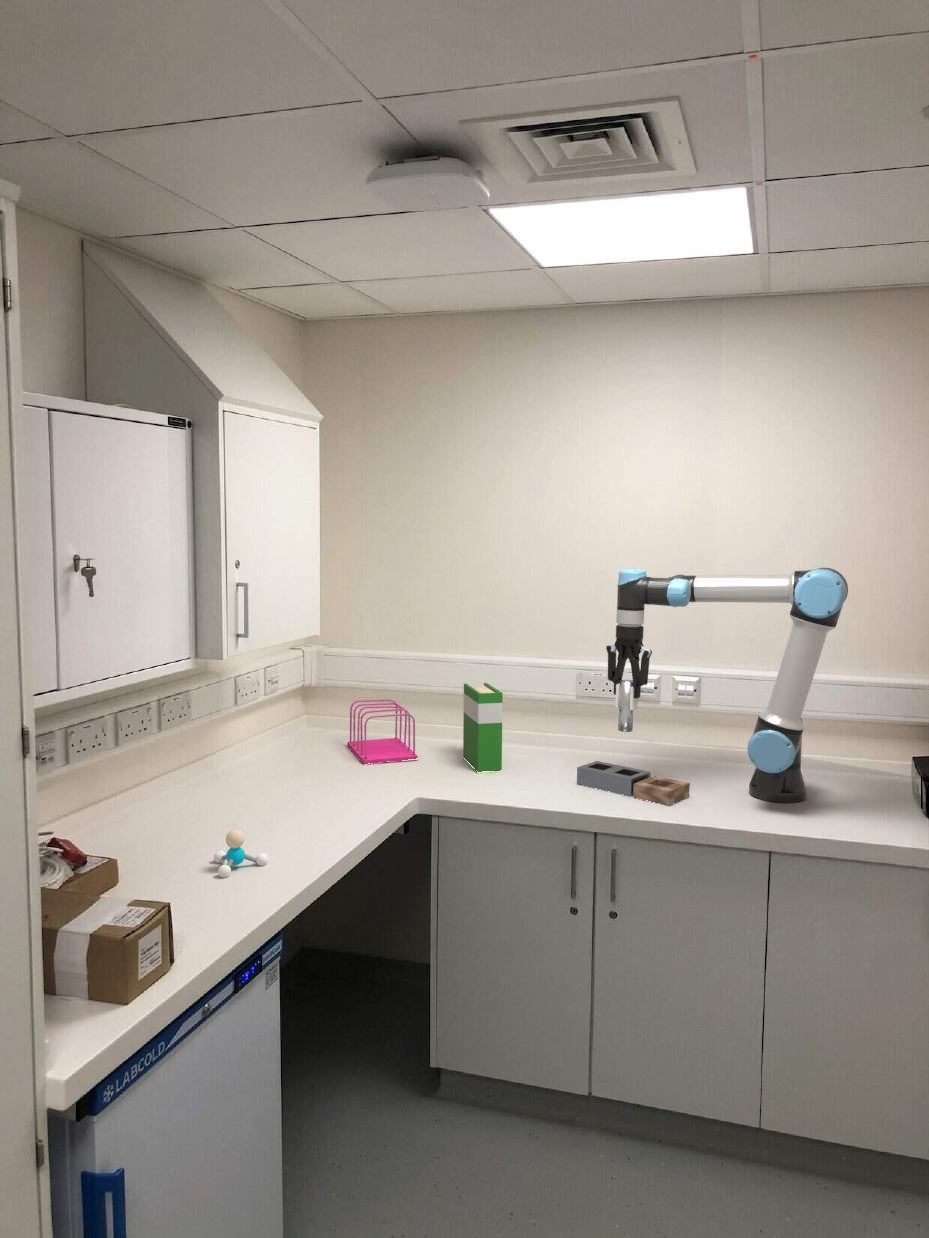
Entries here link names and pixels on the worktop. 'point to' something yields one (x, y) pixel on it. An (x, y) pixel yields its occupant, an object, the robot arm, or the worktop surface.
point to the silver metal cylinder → (625, 707)
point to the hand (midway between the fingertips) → (626, 707)
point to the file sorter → (381, 747)
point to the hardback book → (483, 727)
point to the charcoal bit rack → (610, 777)
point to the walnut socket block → (661, 790)
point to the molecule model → (236, 854)
